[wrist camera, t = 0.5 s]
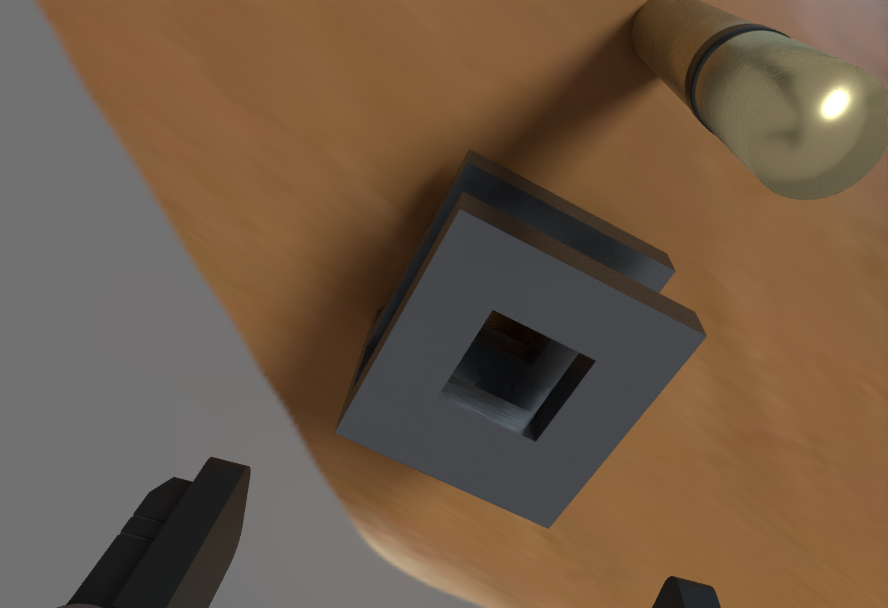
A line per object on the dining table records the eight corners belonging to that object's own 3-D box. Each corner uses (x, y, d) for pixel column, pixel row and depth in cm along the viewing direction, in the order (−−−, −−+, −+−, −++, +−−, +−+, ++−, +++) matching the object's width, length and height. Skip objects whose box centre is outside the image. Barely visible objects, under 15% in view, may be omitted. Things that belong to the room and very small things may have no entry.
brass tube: (658, -24, 32) (810, 33, 16) (720, 14, 32) (928, 104, 16) (616, 46, 33) (716, 162, 17) (676, 81, 34) (827, 224, 18)
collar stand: (471, 137, 36) (459, 209, 27) (659, 238, 37) (706, 336, 29) (371, 322, 41) (334, 433, 32) (539, 403, 43) (548, 528, 34)
